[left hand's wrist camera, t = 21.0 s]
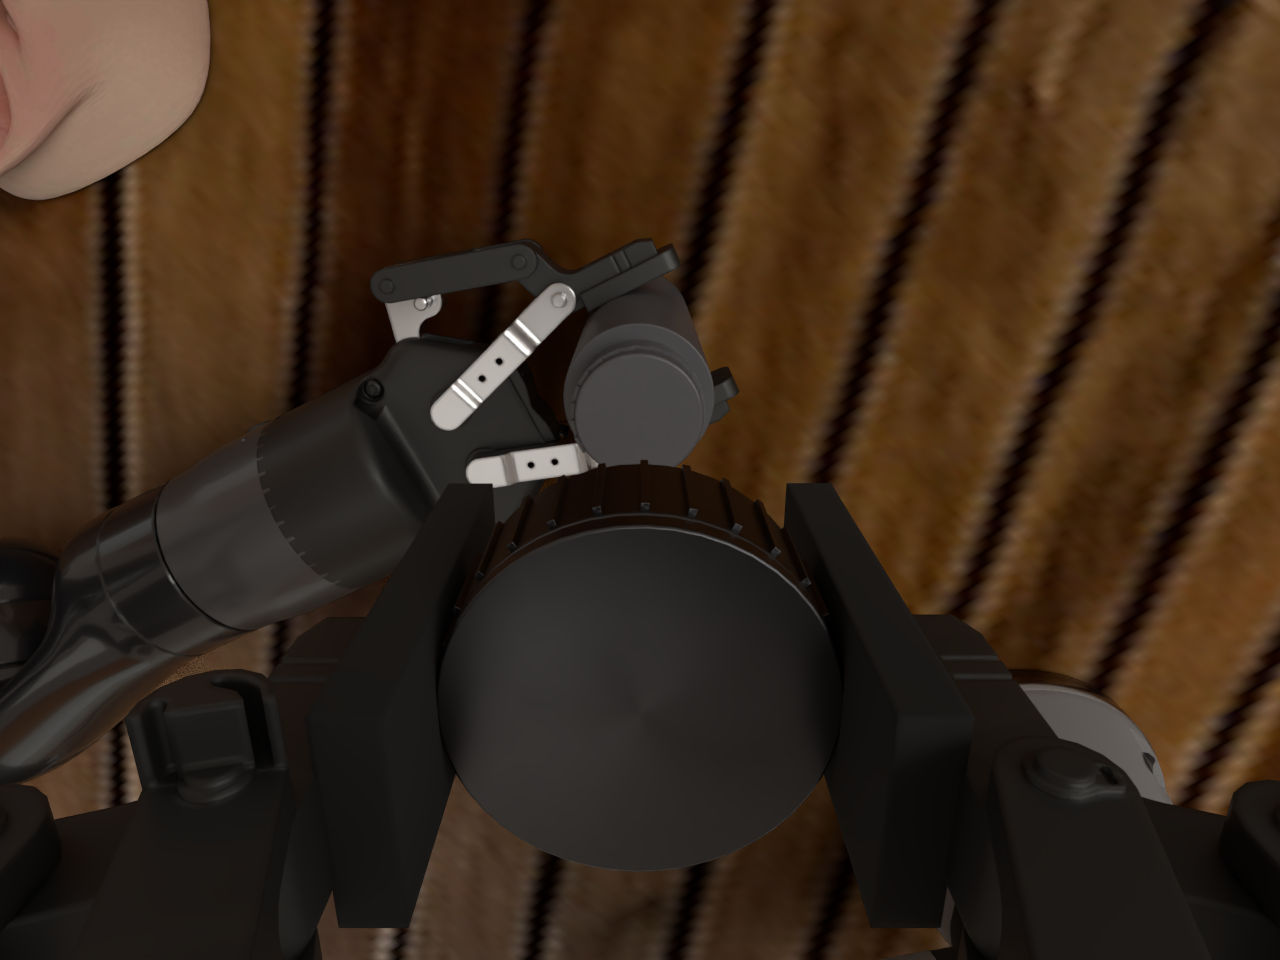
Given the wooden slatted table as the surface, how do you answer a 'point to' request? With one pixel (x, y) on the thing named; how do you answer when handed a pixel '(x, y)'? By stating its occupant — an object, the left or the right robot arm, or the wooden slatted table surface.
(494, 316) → the wooden slatted table surface
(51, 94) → the anatomical model
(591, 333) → the dark grey cylinder
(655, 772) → the lid
